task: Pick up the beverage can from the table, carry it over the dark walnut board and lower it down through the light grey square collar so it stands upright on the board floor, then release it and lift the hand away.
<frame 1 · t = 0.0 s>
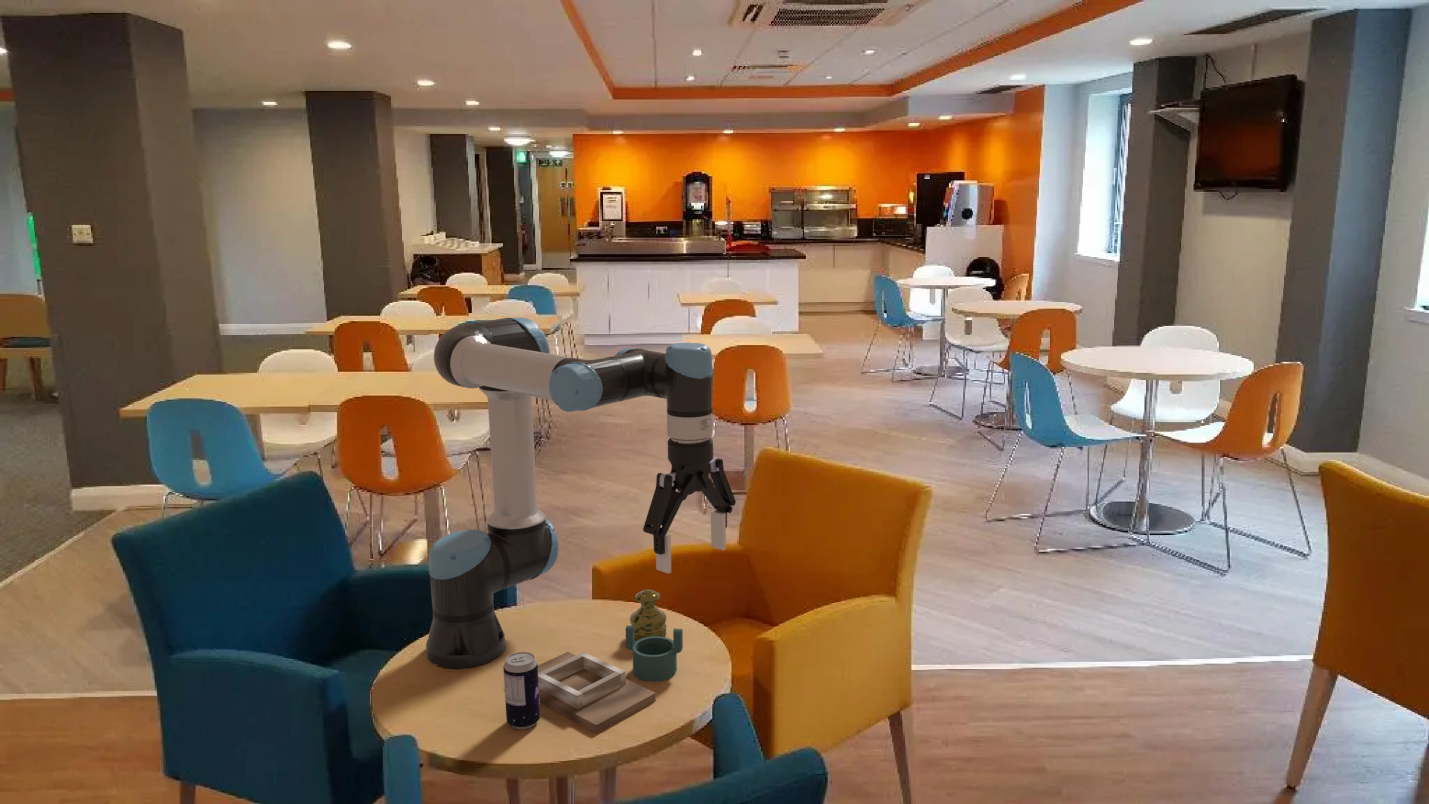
hand: (691, 559, 164), 28 cm above the table, tool pointing down, fingers open, 13 cm apart
beverage can: (523, 723, 166), on the table
brass calibration weight: (648, 637, 198), on the table
can holder: (581, 693, 176), on the table
teal cauldron pot: (655, 670, 184), on the table
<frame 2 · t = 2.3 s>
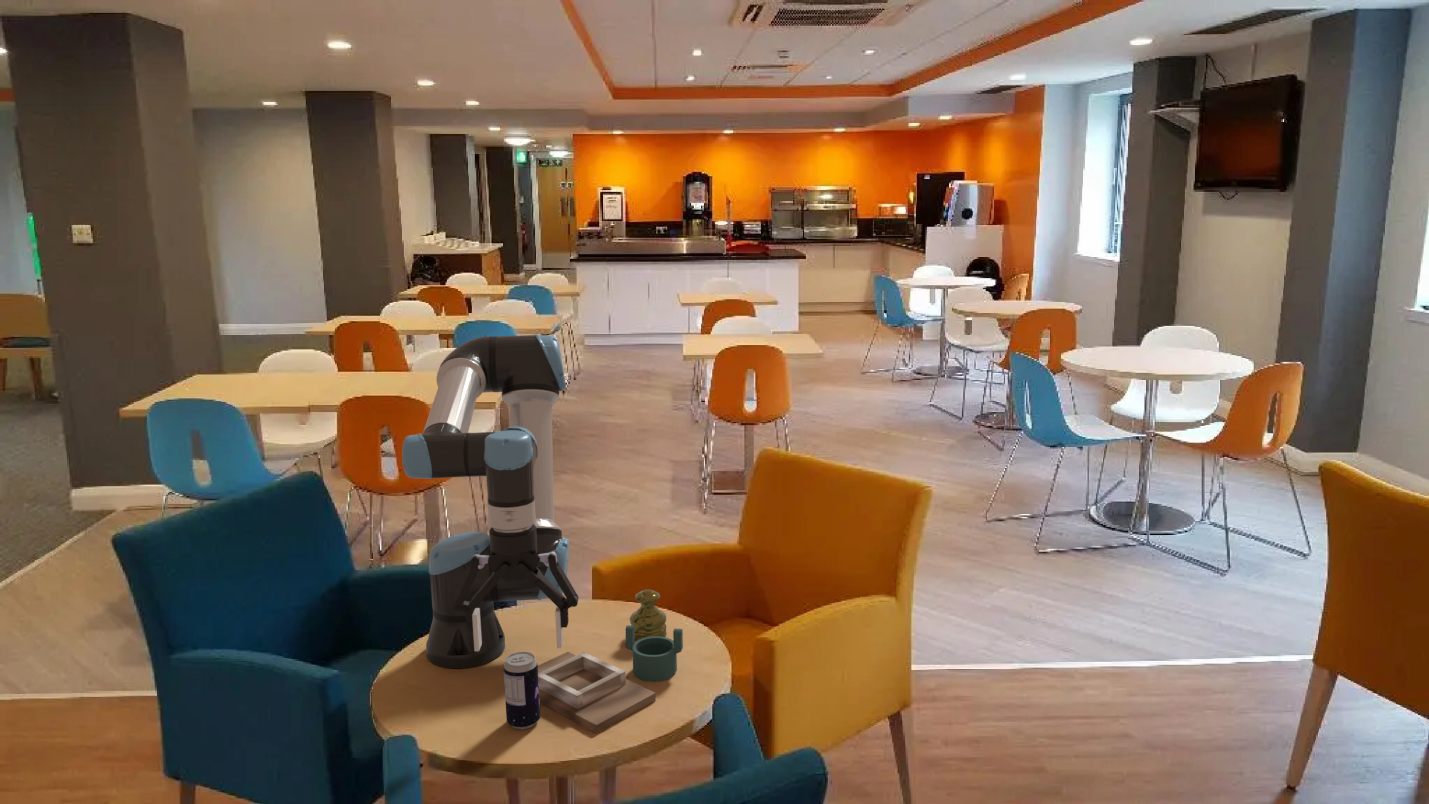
hand: (519, 646, 163), 14 cm above the table, tool pointing down, fingers open, 13 cm apart
nothing on the table moved.
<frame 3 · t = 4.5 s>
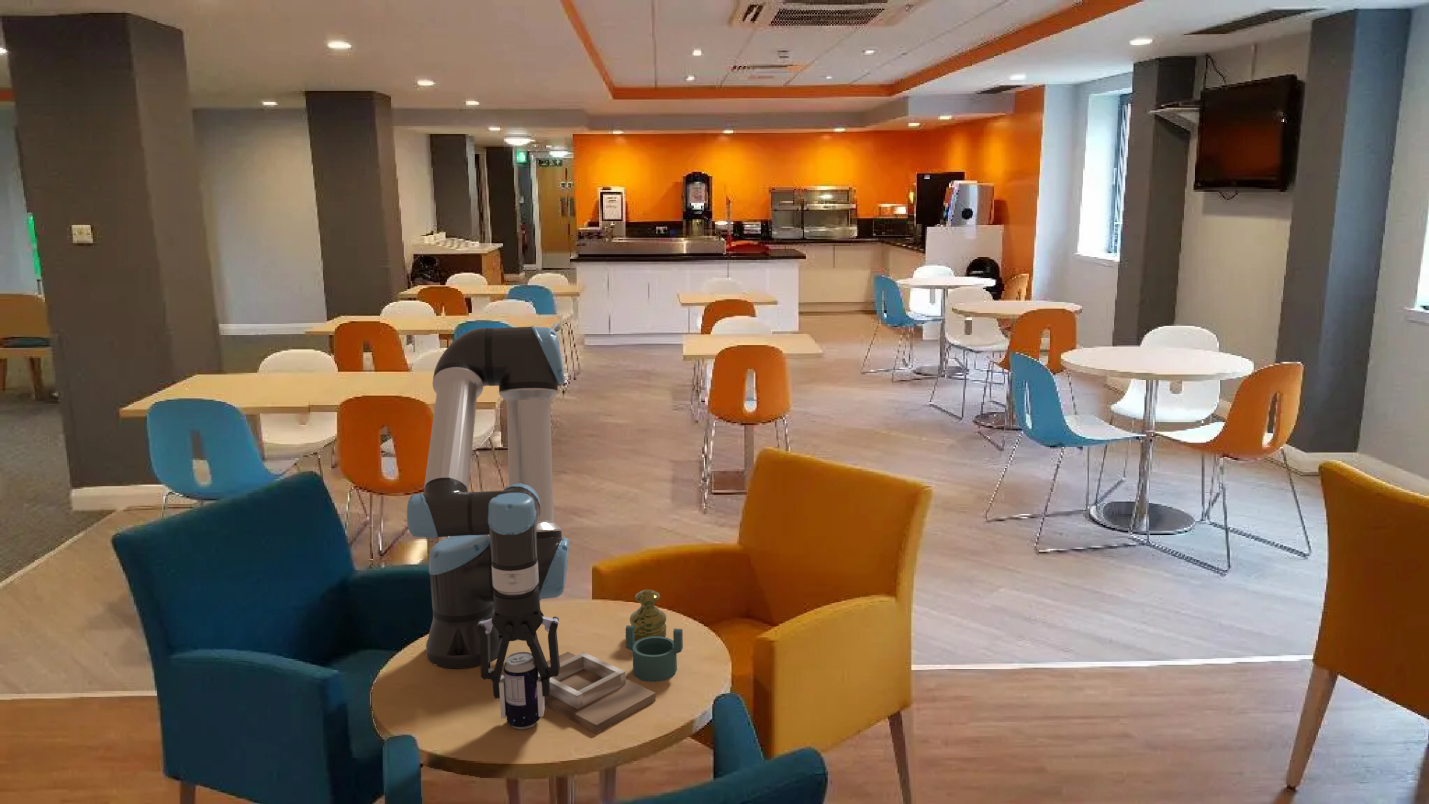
hand: (523, 713, 166), 2 cm above the table, tool pointing down, fingers closed on beverage can, 6 cm apart
beverage can: (523, 723, 166), on the table, touching gripper
everything else where it was.
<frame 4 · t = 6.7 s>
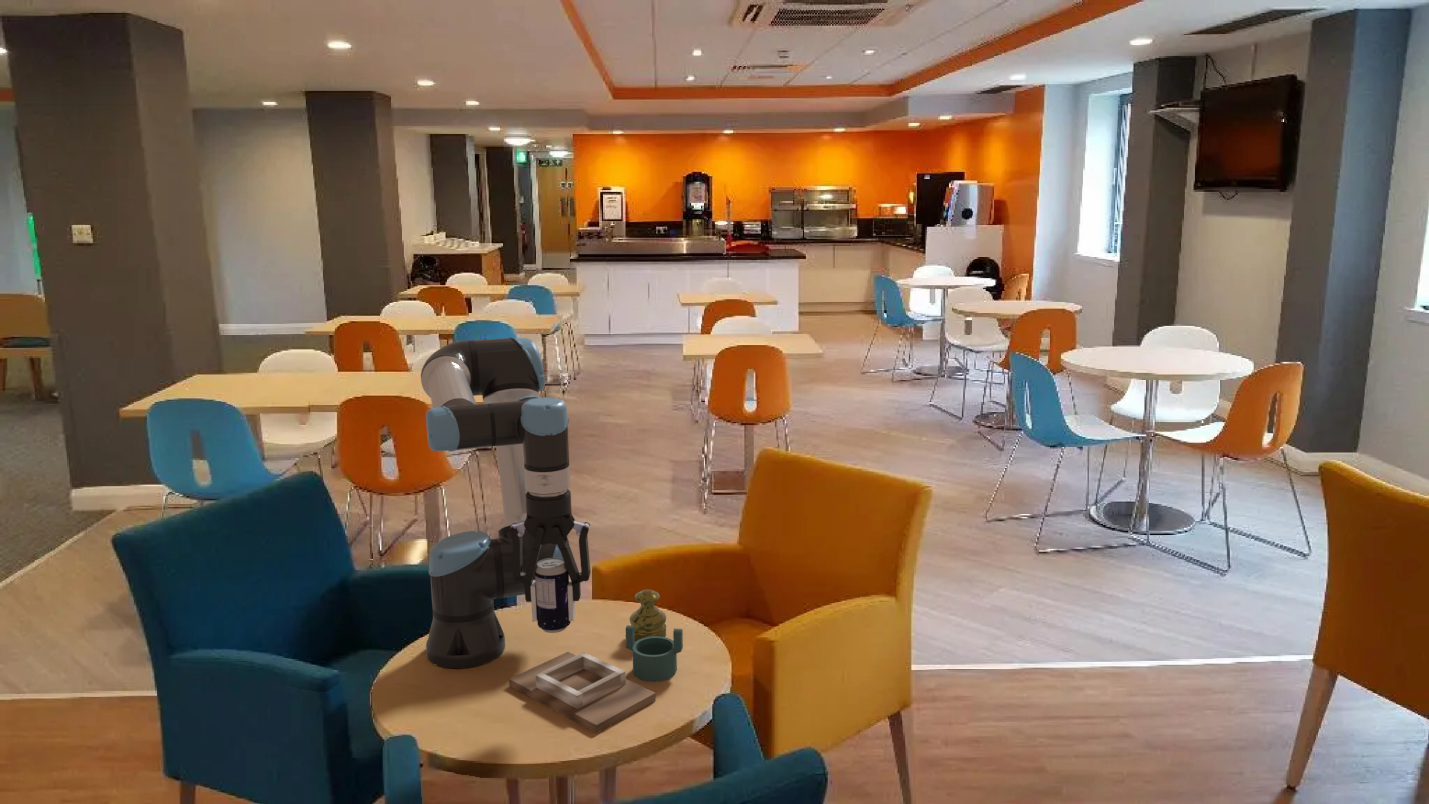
hand: (554, 617, 168), 17 cm above the table, tool pointing down, fingers closed on beverage can, 6 cm apart
beverage can: (554, 628, 169), point 15 cm above the table, touching gripper
everything else where it was.
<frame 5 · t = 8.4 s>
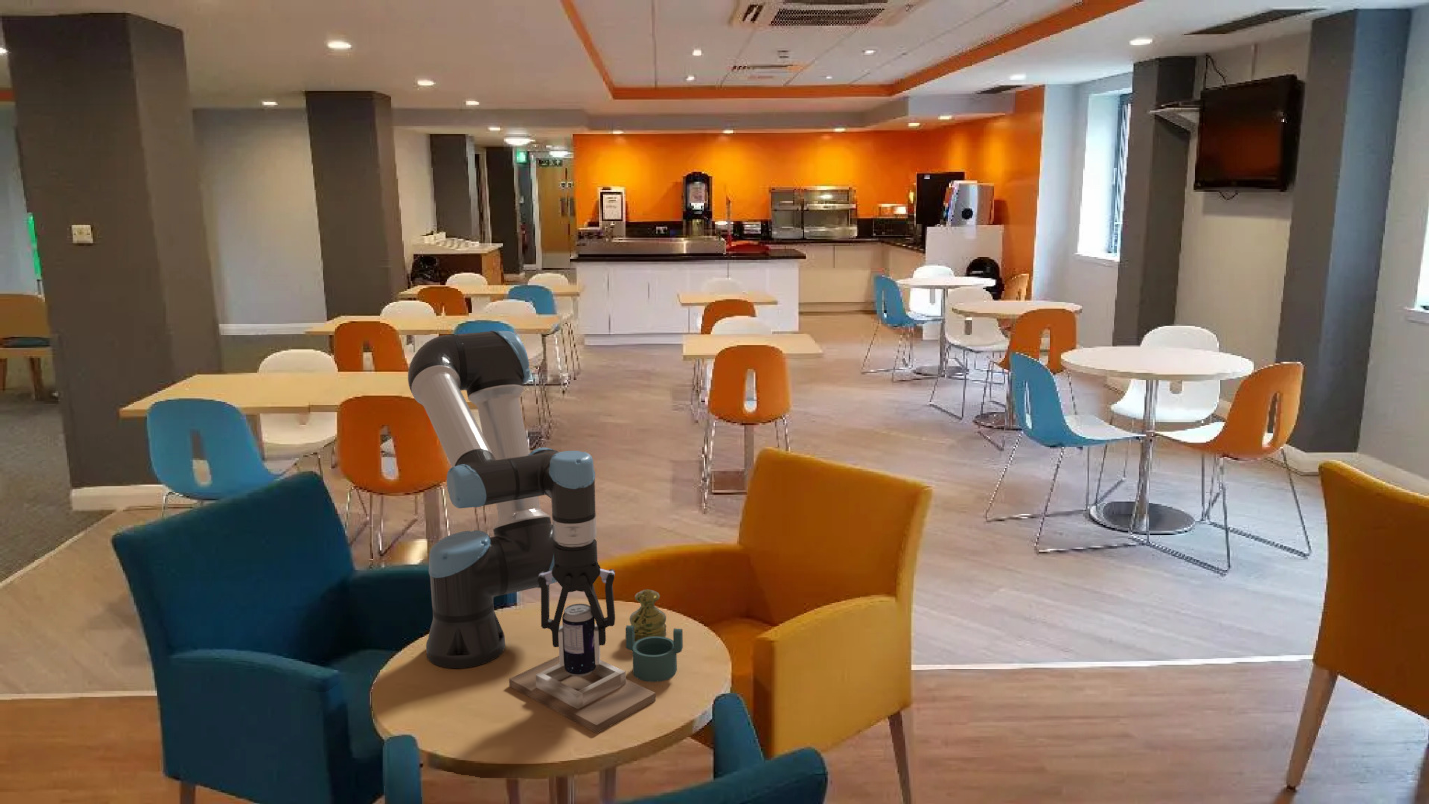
hand: (580, 661, 174), 6 cm above the table, tool pointing down, fingers closed on beverage can, 6 cm apart
beverage can: (580, 672, 175), point 4 cm above the table, touching gripper
everything else where it was.
when the fingers open (4 cm above the table, at t = 9.4 s): beverage can stays where it is, resting on can holder.
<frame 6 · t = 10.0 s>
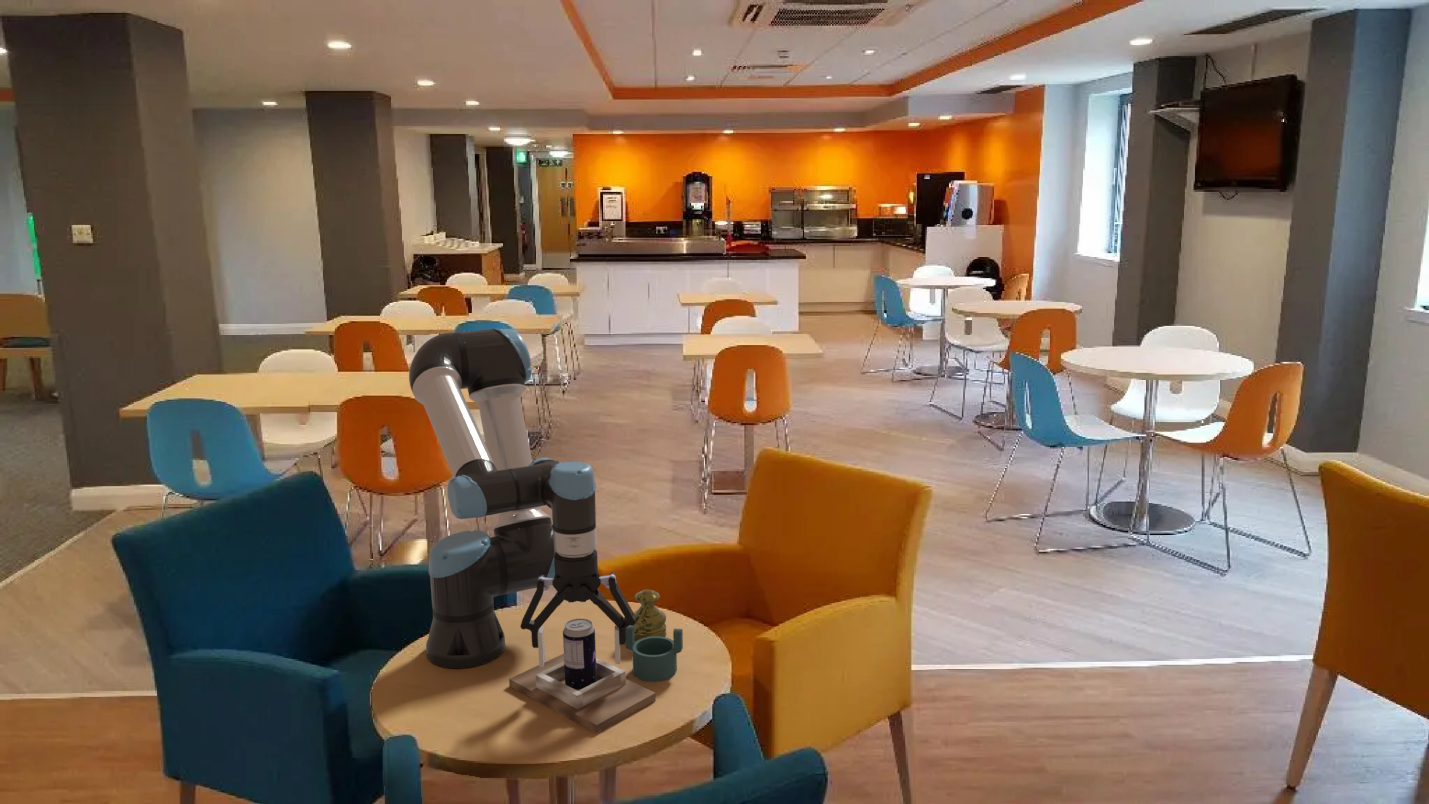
hand: (580, 662, 174), 6 cm above the table, tool pointing down, fingers open, 13 cm apart
beverage can: (581, 686, 175), point 1 cm above the table, touching can holder
everything else where it was.
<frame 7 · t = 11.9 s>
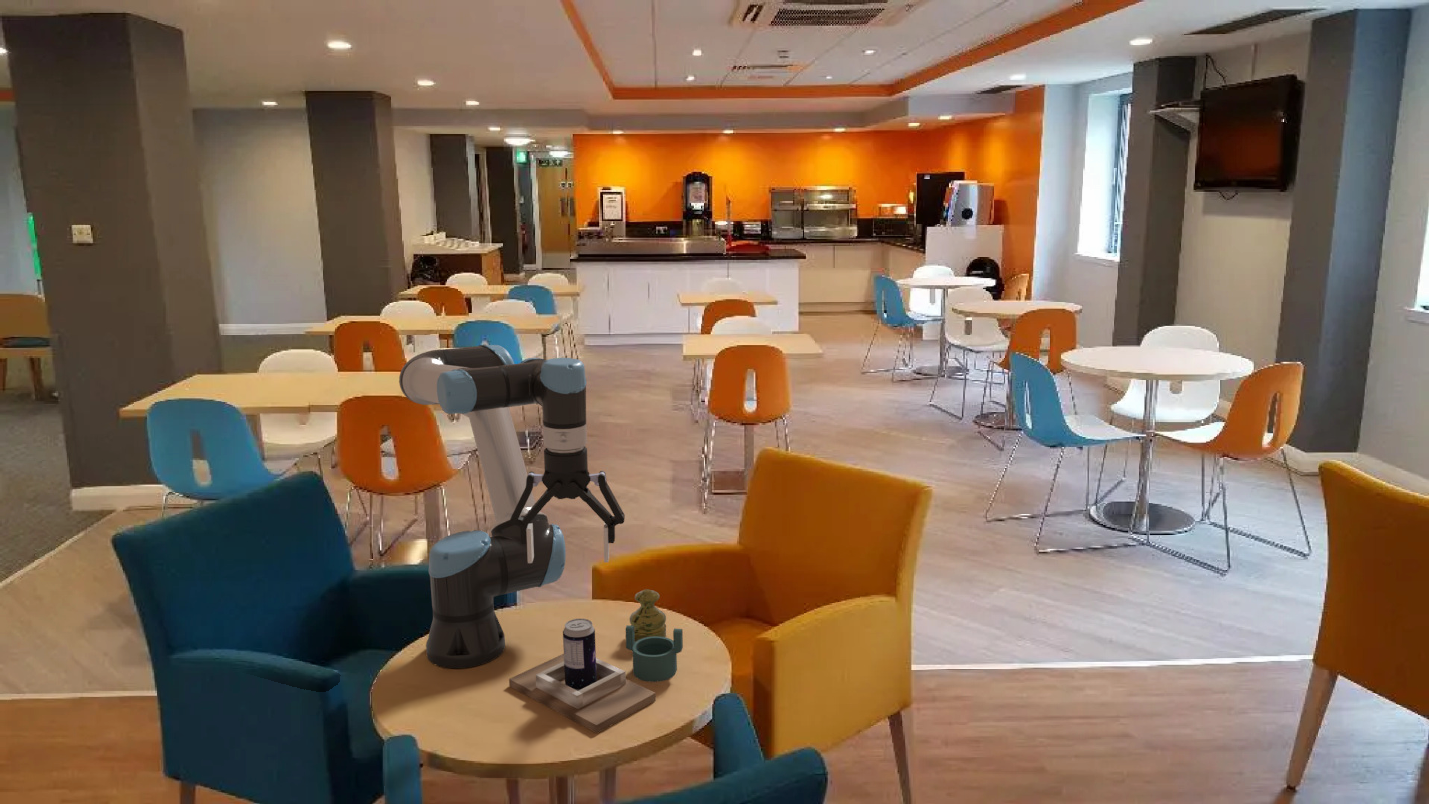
hand: (568, 559, 175), 24 cm above the table, tool pointing down, fingers open, 13 cm apart
nothing on the table moved.
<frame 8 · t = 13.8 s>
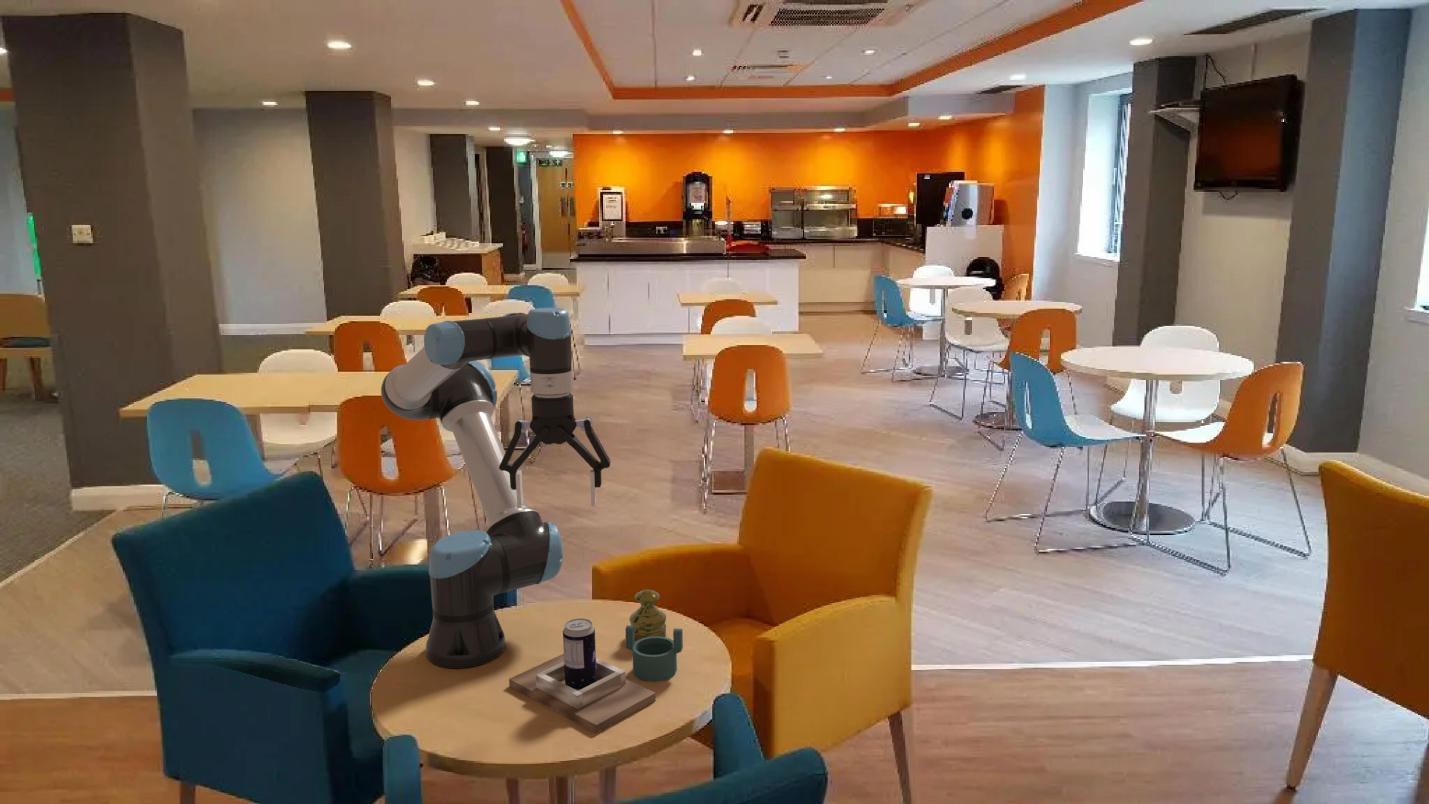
hand: (557, 504, 181), 32 cm above the table, tool pointing down, fingers open, 13 cm apart
nothing on the table moved.
at the end: beverage can 0.0 cm off-centre on the can holder, point 1.3 cm above the can holder's base; beverage can tilted 0°; the gripper is holding nothing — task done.
